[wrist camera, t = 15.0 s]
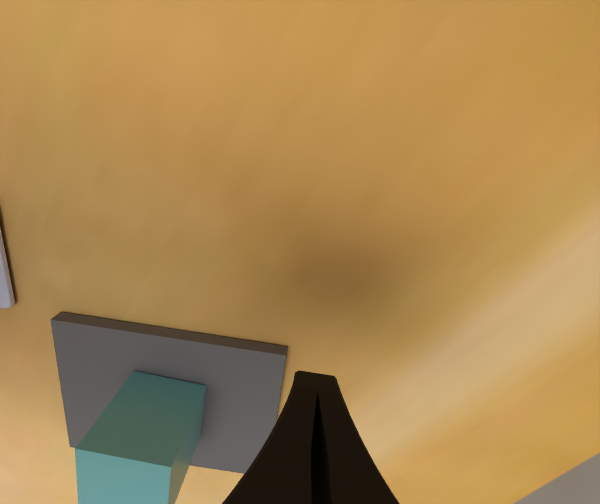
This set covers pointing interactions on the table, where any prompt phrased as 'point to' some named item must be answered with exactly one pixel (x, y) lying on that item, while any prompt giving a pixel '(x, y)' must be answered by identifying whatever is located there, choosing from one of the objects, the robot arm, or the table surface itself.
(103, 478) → the teal square block
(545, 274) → the table surface
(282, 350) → the pin stand
